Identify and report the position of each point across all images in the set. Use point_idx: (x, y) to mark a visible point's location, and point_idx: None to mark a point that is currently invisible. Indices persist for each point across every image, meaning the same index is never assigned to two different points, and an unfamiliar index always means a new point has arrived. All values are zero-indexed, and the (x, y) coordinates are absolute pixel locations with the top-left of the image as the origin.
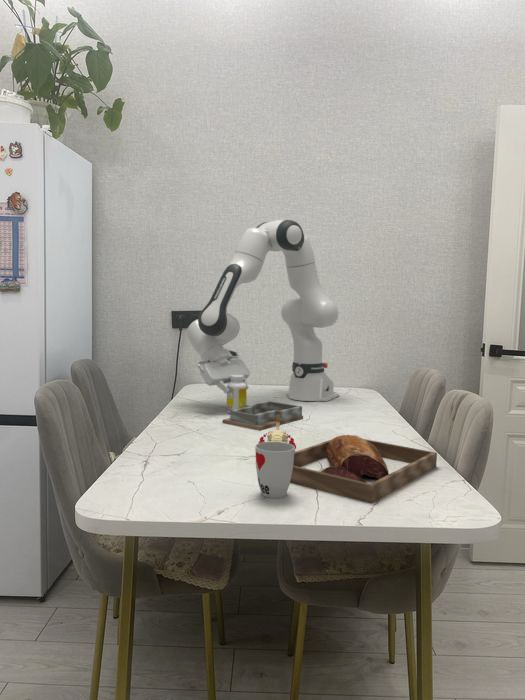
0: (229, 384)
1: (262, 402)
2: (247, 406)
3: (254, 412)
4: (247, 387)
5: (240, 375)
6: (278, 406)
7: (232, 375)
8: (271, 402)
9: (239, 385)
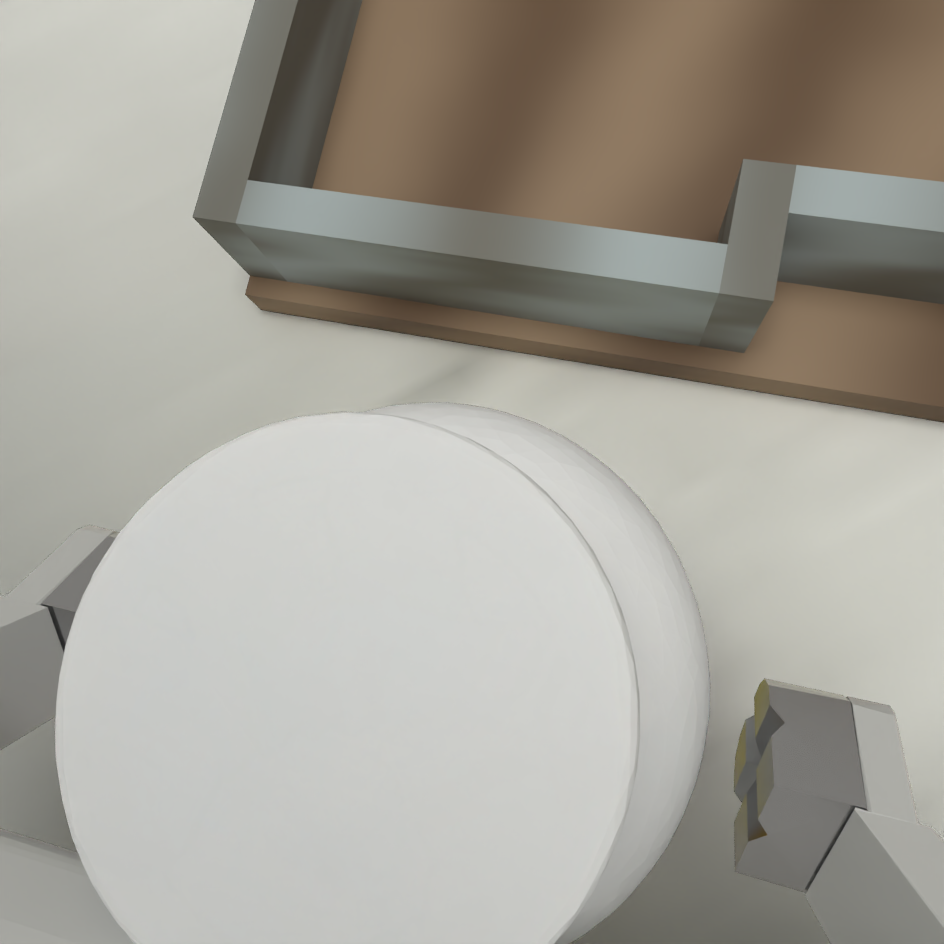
0: (654, 825)
1: (361, 225)
2: (776, 276)
3: (727, 210)
4: None
5: (197, 601)
6: (310, 47)
7: (378, 919)
8: (263, 137)
9: (598, 483)
